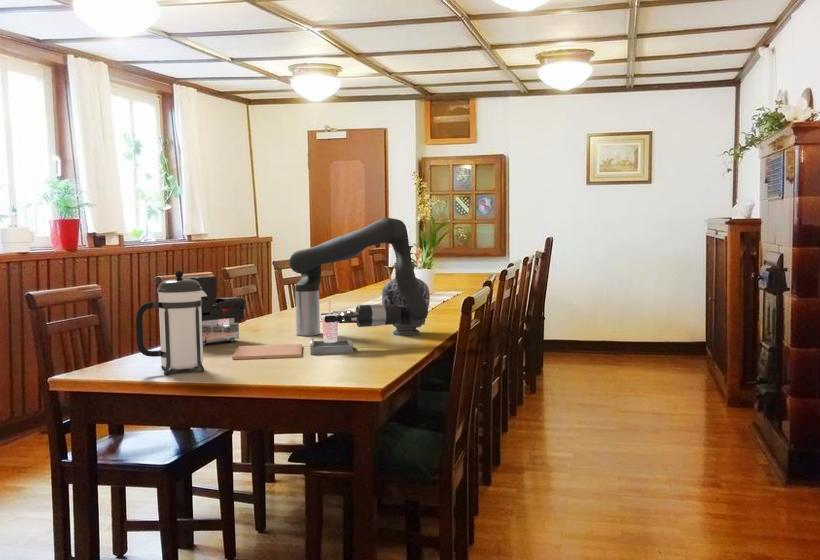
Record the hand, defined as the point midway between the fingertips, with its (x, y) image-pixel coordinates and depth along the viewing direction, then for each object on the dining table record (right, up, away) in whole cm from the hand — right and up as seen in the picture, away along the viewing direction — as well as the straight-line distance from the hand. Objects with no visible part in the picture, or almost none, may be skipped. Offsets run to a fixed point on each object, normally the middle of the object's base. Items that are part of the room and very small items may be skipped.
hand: (323, 318), depth 264 cm
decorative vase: (+28, -8, +40) cm, 49 cm away
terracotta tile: (-18, -12, -1) cm, 22 cm away
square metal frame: (+3, -11, +1) cm, 12 cm away
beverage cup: (+2, -8, +1) cm, 9 cm away
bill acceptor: (-43, -11, +23) cm, 50 cm away
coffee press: (-40, -15, -32) cm, 53 cm away
